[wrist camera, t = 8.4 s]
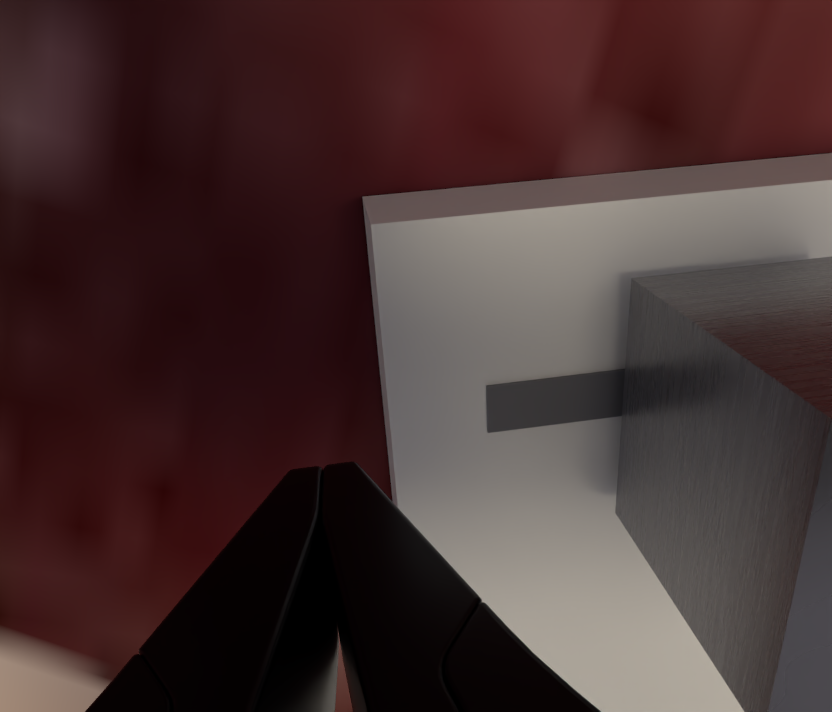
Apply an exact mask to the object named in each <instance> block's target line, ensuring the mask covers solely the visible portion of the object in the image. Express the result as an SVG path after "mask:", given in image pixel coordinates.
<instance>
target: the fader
mask: <svg viewBox="0 0 832 712" xmlns="http://www.w3.org/2000/svg"><path fill="white" fill-rule="evenodd" d="M615 513H616V515H617V516H618V518H619V519H620V521H621V522H622V524H623V526H624V527H625V529H626V530H627V532H628V533H629V535H630V536H631V538H632V539H633V541H634V542H635V544H636V546H637V547H638V549H639V550H640V552H641V553H642V555H643V556H644V558H645V559H646V561H647V562H648V564H649V566H650V567H651V569H652V570H653V572H654V573H655V575H656V576H657V578H658V579H659V581H660V582H661V584H662V586H663V587H664V589H665V590H666V592H667V593H668V595H669V596H670V598H671V599H672V601H673V602H674V604H675V606H676V607H677V609H678V610H679V612H680V613H681V615H682V616H683V618H684V619H685V621H686V622H687V624H688V626H689V627H690V629H691V630H692V632H693V633H694V635H695V636H696V638H697V639H698V641H699V642H700V644H701V646H702V647H703V649H704V650H705V652H706V653H707V655H708V656H709V658H710V659H711V661H712V662H713V664H714V666H715V667H716V669H717V670H718V672H719V673H720V675H721V676H722V678H723V679H724V681H725V682H726V684H727V686H728V687H729V689H730V690H731V692H732V693H733V695H734V696H735V698H736V699H737V701H738V702H739V704H740V706H741V707H742V709H743V710H744V712H832V257H823V258H813V259H804V260H795V261H786V262H776V263H767V264H758V265H749V266H739V267H730V268H721V269H711V270H702V271H693V272H684V273H674V274H665V275H656V276H647V277H637V278H631V290H630V305H629V319H628V334H627V348H626V363H625V378H624V392H623V407H622V421H621V436H620V450H619V465H618V479H617V494H616V508H615Z"/></svg>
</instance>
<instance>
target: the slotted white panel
mask: <svg viewBox="0 0 832 712" xmlns="http://www.w3.org/2000/svg"><path fill="white" fill-rule="evenodd" d="M362 199H363V209H364V219H365V229H366V239H367V249H368V259H369V269H370V279H371V289H372V299H373V309H374V319H375V329H376V339H377V349H378V359H379V369H380V380H381V390H382V400H383V410H384V420H385V430H386V440H387V450H388V460H389V470H390V480H391V490H392V500H393V503H394V504H395V505H396V506H397V507H398V508H399V510H400V511H401V512H402V513H403V514H404V515H405V516H406V517H407V518H408V519H409V520H410V522H411V523H412V524H413V525H414V526H415V527H416V528H417V529H418V530H419V531H420V532H421V533H422V535H423V536H424V537H425V538H426V539H427V540H428V541H429V542H430V543H431V544H432V545H433V547H434V548H435V549H436V550H437V551H438V552H439V553H440V554H441V555H442V556H443V557H444V559H445V560H446V561H447V562H448V563H449V564H450V565H451V566H452V567H453V568H454V569H455V570H456V572H457V573H458V574H459V575H460V576H461V577H462V578H463V579H464V580H465V581H466V582H467V584H468V585H469V586H470V587H471V588H472V589H473V590H474V591H475V592H476V593H477V594H478V596H479V597H480V598H481V599H482V602H484V603H486V604H487V605H488V606H489V607H490V608H491V609H492V610H493V611H494V613H495V614H496V615H497V616H498V617H499V618H500V619H501V620H502V621H503V622H504V624H505V625H506V626H507V627H508V628H509V629H510V630H511V631H512V632H513V633H514V634H515V635H516V636H517V637H518V638H519V639H520V640H521V641H522V642H523V643H524V644H525V645H526V646H527V647H528V648H529V649H530V650H531V651H532V652H533V653H534V654H535V655H536V656H537V657H538V658H540V659H541V660H542V661H543V662H544V663H545V664H546V665H547V666H549V667H550V668H551V669H552V670H553V671H554V672H555V673H557V674H558V675H559V676H560V677H561V678H562V679H563V680H565V681H566V682H567V683H568V684H569V685H570V686H571V687H572V688H574V689H575V690H576V691H577V692H578V693H580V694H581V695H582V696H583V697H584V698H585V699H587V700H588V701H589V702H590V703H591V704H593V705H594V706H595V707H596V708H597V709H599V710H600V711H601V712H744V710H743V709H742V707H741V706H740V704H739V702H738V701H737V699H736V698H735V696H734V695H733V693H732V692H731V690H730V689H729V687H728V686H727V684H726V682H725V681H724V679H723V678H722V676H721V675H720V673H719V672H718V670H717V669H716V667H715V666H714V664H713V662H712V661H711V659H710V658H709V656H708V655H707V653H706V652H705V650H704V649H703V647H702V646H701V644H700V642H699V641H698V639H697V638H696V636H695V635H694V633H693V632H692V630H691V629H690V627H689V626H688V624H687V622H686V621H685V619H684V618H683V616H682V615H681V613H680V612H679V610H678V609H677V607H676V606H675V604H674V602H673V601H672V599H671V598H670V596H669V595H668V593H667V592H666V590H665V589H664V587H663V586H662V584H661V582H660V581H659V579H658V578H657V576H656V575H655V573H654V572H653V570H652V569H651V567H650V566H649V564H648V562H647V561H646V559H645V558H644V556H643V555H642V553H641V552H640V550H639V549H638V547H637V546H636V544H635V542H634V541H633V539H632V538H631V536H630V535H629V533H628V532H627V530H626V529H625V527H624V526H623V524H622V522H621V521H620V519H619V518H618V516H617V515H616V513H615V508H616V494H617V479H618V465H619V450H620V436H621V421H622V407H623V392H624V378H625V363H626V348H627V334H628V319H629V305H630V290H631V278H637V277H647V276H656V275H665V274H674V273H684V272H693V271H702V270H711V269H721V268H730V267H739V266H749V265H758V264H767V263H776V262H786V261H795V260H804V259H813V258H823V257H832V153H826V154H815V155H805V156H794V157H783V158H772V159H761V160H751V161H740V162H729V163H718V164H708V165H697V166H686V167H675V168H665V169H654V170H643V171H632V172H622V173H611V174H600V175H589V176H579V177H568V178H557V179H546V180H536V181H525V182H514V183H503V184H493V185H482V186H471V187H460V188H450V189H439V190H428V191H417V192H406V193H396V194H385V195H374V196H363V197H362Z"/></svg>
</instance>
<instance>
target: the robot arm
mask: <svg viewBox="0 0 832 712" xmlns="http://www.w3.org/2000/svg"><path fill="white" fill-rule="evenodd" d="M338 631H339V637H340V644H341V650H342V656H343V662H344V667H345V672H346V677H347V683H348V688H349V693H350V698H351V703H352V708H353V712H601V711H600V710H599V709H597V708H596V707H595V706H594V705H593V704H591V703H590V702H589V701H588V700H587V699H585V698H584V697H583V696H582V695H581V694H580V693H578V692H577V691H576V690H575V689H574V688H572V687H571V686H570V685H569V684H568V683H567V682H566V681H565V680H563V679H562V678H561V677H560V676H559V675H558V674H557V673H555V672H554V671H553V670H552V669H551V668H550V667H549V666H547V665H546V664H545V663H544V662H543V661H542V660H541V659H540V658H538V657H537V656H536V655H535V654H534V653H533V652H532V651H531V650H530V649H529V648H528V647H527V646H526V645H525V644H524V643H523V642H522V641H521V640H520V639H519V638H518V637H517V636H516V635H515V634H514V633H513V632H512V631H511V630H510V629H509V628H508V627H507V626H506V625H505V624H504V622H503V621H502V620H501V619H500V618H499V617H498V616H497V615H496V614H495V613H494V611H493V610H492V609H491V608H490V607H489V606H488V605H487V604H486V603H484V602H482V599H481V598H480V597H479V596H478V594H477V593H476V592H475V591H474V590H473V589H472V588H471V587H470V586H469V585H468V584H467V582H466V581H465V580H464V579H463V578H462V577H461V576H460V575H459V574H458V573H457V572H456V570H455V569H454V568H453V567H452V566H451V565H450V564H449V563H448V562H447V561H446V560H445V559H444V557H443V556H442V555H441V554H440V553H439V552H438V551H437V550H436V549H435V548H434V547H433V545H432V544H431V543H430V542H429V541H428V540H427V539H426V538H425V537H424V536H423V535H422V533H421V532H420V531H419V530H418V529H417V528H416V527H415V526H414V525H413V524H412V523H411V522H410V520H409V519H408V518H407V517H406V516H405V515H404V514H403V513H402V512H401V511H400V510H399V508H398V507H397V506H396V505H395V504H394V503H393V502H392V501H391V500H390V499H389V498H388V496H387V495H386V494H385V493H384V492H383V491H382V490H381V489H380V488H379V487H378V486H377V484H376V483H375V482H374V481H373V480H372V479H371V478H370V477H369V476H368V475H367V474H366V473H365V471H364V470H363V469H362V468H361V467H360V466H359V465H358V464H357V463H355V462H345V463H337V464H330V465H327V466H326V467H325V468H324V470H323V469H322V468H321V467H319V466H314V467H306V468H298V469H292V470H290V471H289V472H288V473H287V474H286V475H285V476H284V477H283V479H282V480H281V481H280V482H279V483H278V485H277V486H276V487H275V488H274V489H273V490H272V492H271V493H270V494H269V495H268V496H267V498H266V499H265V500H264V501H263V502H262V504H261V505H260V506H259V507H258V508H257V510H256V511H255V512H254V513H253V514H252V515H251V517H250V518H249V519H248V520H247V521H246V523H245V524H244V525H243V526H242V527H241V529H240V530H239V531H238V532H237V533H236V535H235V536H234V537H233V538H232V539H231V540H230V542H229V543H228V544H227V545H226V546H225V548H224V549H223V550H222V551H221V552H220V554H219V555H218V556H217V557H216V558H215V560H214V561H213V562H212V563H211V564H210V565H209V567H208V568H207V569H206V570H205V571H204V573H203V574H202V575H201V576H200V577H199V579H198V580H197V581H196V582H195V583H194V585H193V586H192V587H191V588H190V589H189V591H188V592H187V593H186V594H185V595H184V596H183V598H182V599H181V600H180V601H179V602H178V604H177V605H176V606H175V607H174V608H173V610H172V611H171V612H170V613H169V614H168V616H167V617H166V618H165V619H164V620H163V621H162V623H161V624H160V625H159V626H158V627H157V629H156V630H155V631H154V632H153V633H152V635H151V636H150V637H149V638H148V639H147V641H146V642H145V643H144V644H143V645H142V646H141V648H140V649H139V654H135V655H134V656H133V657H132V658H131V659H130V660H129V662H128V663H127V664H126V665H125V666H124V667H123V669H122V670H121V671H120V672H119V673H118V675H117V676H116V677H115V678H114V679H113V681H112V682H111V683H110V684H109V685H108V686H107V687H106V689H105V690H104V691H103V692H102V693H101V694H100V695H99V696H98V698H97V699H96V700H95V701H94V702H93V703H92V704H91V706H90V707H89V708H88V709H87V710H86V711H85V712H335V700H336V685H337V670H338V648H339V637H338Z"/></svg>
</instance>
